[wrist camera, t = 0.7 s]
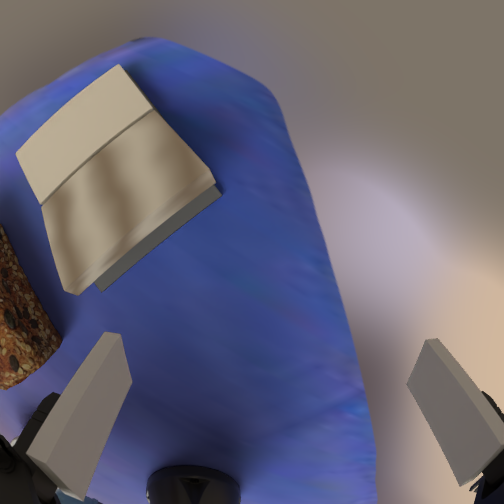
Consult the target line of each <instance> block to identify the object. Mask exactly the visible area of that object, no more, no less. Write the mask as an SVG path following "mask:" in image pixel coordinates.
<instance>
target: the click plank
mask: <svg viewBox="0 0 504 504" xmlns="http://www.w3.org/2000/svg"><path fill="white" fill-rule="evenodd" d="M215 183H216V181H215V179H214V177H213V175H212V173H211V171H210V169H209V168H208V167H207V166H206V165H205V164H204V163H203V161H202V160H201V159H200V158H199V157H198V156H197V155H196V154H195V153H194V152H193V151H192V149H191V148H190V147H189V146H188V145H187V144H186V143H185V142H184V141H183V140H182V139H181V138H180V137H179V136H178V134H177V133H176V132H175V131H174V130H173V129H172V128H171V127H170V126H169V125H168V124H167V123H166V122H165V121H164V120H163V118H162V117H161V116H160V115H159V114H158V113H157V112H156V111H155V110H154V111H152V112H151V113H149V114H148V115H147V116H145V117H144V118H142V119H141V120H140V121H138V122H137V123H135V124H134V125H133V126H131V127H130V128H129V129H127V130H126V131H125V132H123V133H122V134H121V135H120V136H118V137H117V138H116V139H114V140H113V141H112V142H111V143H110V144H108V145H107V146H106V147H105V148H103V149H102V150H101V151H100V152H99V153H97V154H96V155H95V156H94V157H93V158H92V159H91V160H89V161H88V162H87V163H86V164H85V165H84V166H83V167H82V168H80V169H79V170H78V171H77V172H76V173H75V174H74V175H73V176H72V177H71V178H70V179H69V180H68V181H67V182H65V183H64V184H63V185H62V186H61V187H60V188H59V189H58V190H57V191H56V192H55V193H54V194H53V195H52V196H51V197H50V199H49V200H48V201H47V202H46V203H45V204H44V205H43V206H42V207H41V209H42V213H43V218H44V223H45V227H46V231H47V235H48V239H49V243H50V247H51V250H52V254H53V257H54V261H55V264H56V268H57V271H58V274H59V277H60V280H61V283H62V286H63V289H64V291H66V292H69V293H72V294H75V295H78V296H79V295H80V294H81V293H82V292H83V291H84V290H85V289H86V288H87V287H88V286H90V285H91V284H92V283H93V282H94V281H95V280H96V279H97V278H98V277H99V276H101V275H102V274H103V273H104V272H105V271H106V270H107V269H108V268H110V267H111V266H112V265H113V264H114V263H115V262H116V261H118V260H119V259H120V258H121V257H122V256H123V255H124V254H126V253H127V252H128V251H129V250H130V249H132V248H133V247H134V246H135V245H136V244H138V243H139V242H140V241H141V240H142V239H144V238H145V237H146V236H147V235H148V234H150V233H151V232H152V231H153V230H155V229H156V228H157V227H158V226H160V225H161V224H162V223H163V222H165V221H166V220H167V219H168V218H170V217H171V216H172V215H173V214H175V213H176V212H177V211H179V210H180V209H181V208H182V207H184V206H185V205H186V204H188V203H189V202H190V201H192V200H193V199H194V198H196V197H197V196H198V195H200V194H201V193H202V192H204V191H205V190H206V189H208V188H209V187H211V186H212V185H213V184H215Z"/></svg>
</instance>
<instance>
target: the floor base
mask: <svg viewBox="0 0 504 504" xmlns="http://www.w3.org/2000/svg"><path fill="white" fill-rule="evenodd" d="M154 110H155V111H156V112H157V113H158V114H159V115H160V116H161V117H162V115H161V114H160V113H159V112H158V110H157V109H156V108H155V106H154V105H153V104H152V102H151V101H150V100H149V99H148V97H147V96H146V95H145V93H144V92H143V91H142V89H141V88H140V87H139V86H138V84H137V83H136V82H135V80H134V79H133V78H132V77H131V75H130V74H129V73H128V71H127V70H125V71H124V70H123V69H122V67H121V66H120V65H119V64H118V65H116V66H115V67H113V68H112V69H110V70H109V71H107V72H106V73H105V74H103V75H102V76H100V77H99V78H98V79H96V80H95V81H94V82H92V83H91V84H90V85H88V86H87V87H86V88H85V89H83V90H82V91H81V92H80V93H78V94H77V95H76V96H75V97H73V98H72V99H71V100H70V101H69V102H67V103H66V104H65V105H64V106H63V107H62V108H61V109H59V110H58V111H57V112H56V113H55V114H54V115H53V116H52V117H51V118H50V119H49V120H47V121H46V122H45V123H44V124H43V125H42V126H41V127H40V128H39V129H38V130H37V131H36V132H35V133H34V134H33V135H32V136H31V137H30V138H29V139H28V140H27V141H26V143H25V144H24V145H23V146H22V147H21V148H20V149H19V150H18V151H17V152H16V153H15V154H16V156H17V159H18V161H19V163H20V165H21V167H22V170H23V172H24V174H25V176H26V178H27V180H28V182H29V184H30V186H31V188H32V190H33V192H34V194H35V196H36V197H37V199H38V201H39V203H40V204H43V205H44V204H45V203H46V202H47V201H48V200H49V199H50V197H51V196H52V195H53V194H54V193H55V192H56V191H57V190H58V189H59V188H60V187H61V186H62V185H63V184H64V183H65V182H67V181H68V180H69V179H70V178H71V177H72V176H73V175H74V174H75V173H76V172H77V171H78V170H79V169H80V168H82V167H83V166H84V165H85V164H86V163H87V162H88V161H89V160H91V159H92V158H93V157H94V156H95V155H96V154H97V153H99V152H100V151H101V150H102V149H103V148H105V147H106V146H107V145H108V144H110V143H111V142H112V141H113V140H114V139H116V138H117V137H118V136H120V135H121V134H122V133H123V132H125V131H126V130H127V129H129V128H130V127H131V126H133V125H134V124H135V123H137V122H138V121H140V120H141V119H142V118H144V117H145V116H147V115H148V114H149V113H151V112H152V111H154ZM162 118H163V117H162ZM163 120H164V121H165V119H164V118H163ZM165 122H166V121H165ZM166 123H167V122H166ZM167 124H168V123H167ZM221 196H222V195H221V193H220V192H219V191H218V189H217V188H216V187H215V185H214V184H213V185H212V186H211V187H209V188H208V189H206V190H205V191H204V192H202V193H201V194H200V195H198V196H197V197H196V198H194V199H193V200H192V201H190V202H189V203H188V204H186V205H185V206H184V207H182V208H181V209H180V210H179V211H177V212H176V213H175V214H173V215H172V216H171V217H170V218H168V219H167V220H166V221H165V222H163V223H162V224H161V225H160V226H158V227H157V228H156V229H155V230H153V231H152V232H151V233H150V234H148V235H147V236H146V237H145V238H144V239H142V240H141V241H140V242H139V243H138V244H136V245H135V246H134V247H133V248H132V249H130V250H129V251H128V252H127V253H126V254H124V255H123V256H122V257H121V258H120V259H119V260H118V261H116V262H115V263H114V264H113V265H112V266H111V267H110V268H108V269H107V270H106V271H105V272H104V273H103V274H102V275H101V276H99V277H98V278H97V279H96V280H95V281H94V283H95V285H96V286H97V287H98V289H99V290H100V291H101V292H103V291H104V290H106V289H107V288H108V287H109V286H110V285H111V284H112V283H114V282H115V281H116V280H117V279H118V278H119V277H120V276H122V275H123V274H124V273H125V272H126V271H128V270H129V269H130V268H131V267H132V266H133V265H135V264H136V263H137V262H138V261H139V260H141V259H142V258H143V257H144V256H145V255H147V254H148V253H149V252H150V251H152V250H153V249H154V248H155V247H156V246H158V245H159V244H160V243H161V242H163V241H164V240H165V239H166V238H168V237H169V236H170V235H171V234H173V233H174V232H175V231H177V230H178V229H179V228H180V227H182V226H183V225H184V224H186V223H187V222H188V221H189V220H191V219H192V218H193V217H195V216H196V215H197V214H199V213H200V212H201V211H202V210H204V209H205V208H206V207H208V206H209V205H210V204H212V203H213V202H214V201H216V200H217V199H219V198H220V197H221Z"/></svg>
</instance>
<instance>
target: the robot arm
mask: <svg viewBox="0 0 504 504" xmlns="http://www.w3.org/2000/svg"><path fill="white" fill-rule="evenodd" d="M131 384H132V378H131V375H130V371H129V367H128V363H127V359H126V355H125V351H124V347H123V342H122V338H121V334H117V333H111V332H104V333H103V335H102V336H101V338H100V339H99V340H98V342H97V343H96V345H95V346H94V347H93V349H92V350H91V352H90V353H89V354H88V356H87V357H86V359H85V360H84V362H83V363H82V364H81V366H80V367H79V369H78V370H77V372H76V373H75V375H74V376H73V378H72V379H71V381H70V382H69V384H68V385H67V387H66V388H65V390H64V391H63V393H62V394H61V395H60V394H57V393H54V392H52V393H51V394H50V395H48V396H47V397H46V398H44V399H43V400H42V402H41V403H40V405H39V406H38V408H37V411H35V412H34V414H33V415H32V419H30V420H29V422H28V423H27V425H26V426H25V428H24V429H23V431H22V433H21V434H20V436H19V438H18V439H17V441H16V443H15V444H14V446H13V447H12V446H11V445H10V443H9V442H8V441H7V440H6V439H5V438H4V436H3V435H0V504H102V503H100V502H98V500H96V499H94V498H92V499H91V498H89V497H87V496H86V493H87V490H88V487H89V485H90V482H91V479H92V477H93V474H94V472H95V469H96V466H97V464H98V461H99V459H100V456H101V454H102V451H103V449H104V446H105V444H106V442H107V439H108V437H109V434H110V432H111V430H112V427H113V425H114V423H115V420H116V418H117V416H118V413H119V411H120V409H121V406H122V404H123V402H124V400H125V397H126V395H127V393H128V391H129V389H130V386H131ZM407 386H408V388H409V390H410V391H411V393H412V395H413V397H414V398H415V400H416V402H417V404H418V405H419V407H420V409H421V411H422V413H423V415H424V416H425V418H426V420H427V422H428V423H429V425H430V427H431V429H432V431H433V433H434V435H435V437H436V439H437V441H438V443H439V444H440V446H441V449H442V451H443V452H444V455H445V456H446V459H447V460H448V462H449V464H450V467H451V469H452V471H453V473H454V475H455V477H456V479H457V481H458V484H459V486H462V485H464V484H466V483H468V482H470V481H472V480H474V479H475V478H476V477H477V476H478V475H479V474H480V473H481V472H482V473H483V476H482V477H481V478H480V479H479V480H478V481H477V482H476V483H475V484H473V486H471V488H470V490H469V491H472V490H473V489H474V488H475V487H476V486H478V487H477V488H476V489H475V491H474V492H476V493H477V494H476V498H475V501H474V504H504V414H503V413H501V410H500V408H499V407H497V404H496V403H495V402H494V400H493V399H492V398H491V397H490V396H489V395H487V394H486V393H485V392H483V391H480V390H479V388H478V387H477V386H476V384H475V383H474V382H473V381H472V379H471V378H470V377H469V376H468V374H467V373H466V372H465V371H464V369H463V368H462V367H461V366H460V364H459V363H458V362H457V361H456V360H455V358H454V357H453V356H452V355H451V353H450V352H449V351H448V350H447V349H446V347H445V346H444V345H443V344H442V343H441V342H440V340H439V339H438V338H436V339H428V340H425V342H424V345H423V347H422V350H421V352H420V355H419V357H418V360H417V362H416V364H415V367H414V369H413V371H412V373H411V376H410V377H409V380H408V382H407ZM57 487H58V488H59V489H57ZM146 497H147V500H148V502H149V504H240V502H241V496H240V491H239V487H238V485H237V483H236V482H235V481H234V480H233V479H232V478H231V477H230V476H228V475H226V474H224V473H222V472H220V471H217V470H214V469H210V468H206V467H199V466H174V467H169V468H165V469H162V470H159V471H157V472H155V473H154V474H153V475H151V477H150V478H149V479H148V482H147V488H146Z"/></svg>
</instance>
